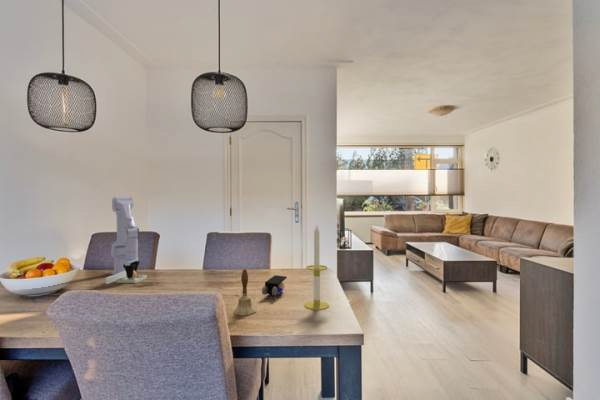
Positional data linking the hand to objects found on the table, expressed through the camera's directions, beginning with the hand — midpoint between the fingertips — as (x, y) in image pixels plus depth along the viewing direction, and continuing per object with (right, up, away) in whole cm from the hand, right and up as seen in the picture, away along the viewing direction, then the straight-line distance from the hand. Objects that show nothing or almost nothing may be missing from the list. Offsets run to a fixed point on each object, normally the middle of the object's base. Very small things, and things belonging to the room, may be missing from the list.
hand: (131, 276), depth 171 cm
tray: (0, -2, 0) cm, 2 cm away
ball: (0, -2, 0) cm, 2 cm away
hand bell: (+68, -2, -48) cm, 83 cm away
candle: (+95, -2, -41) cm, 104 cm away
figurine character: (+77, -2, -27) cm, 82 cm away
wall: (-9, -2, +1) cm, 9 cm away
